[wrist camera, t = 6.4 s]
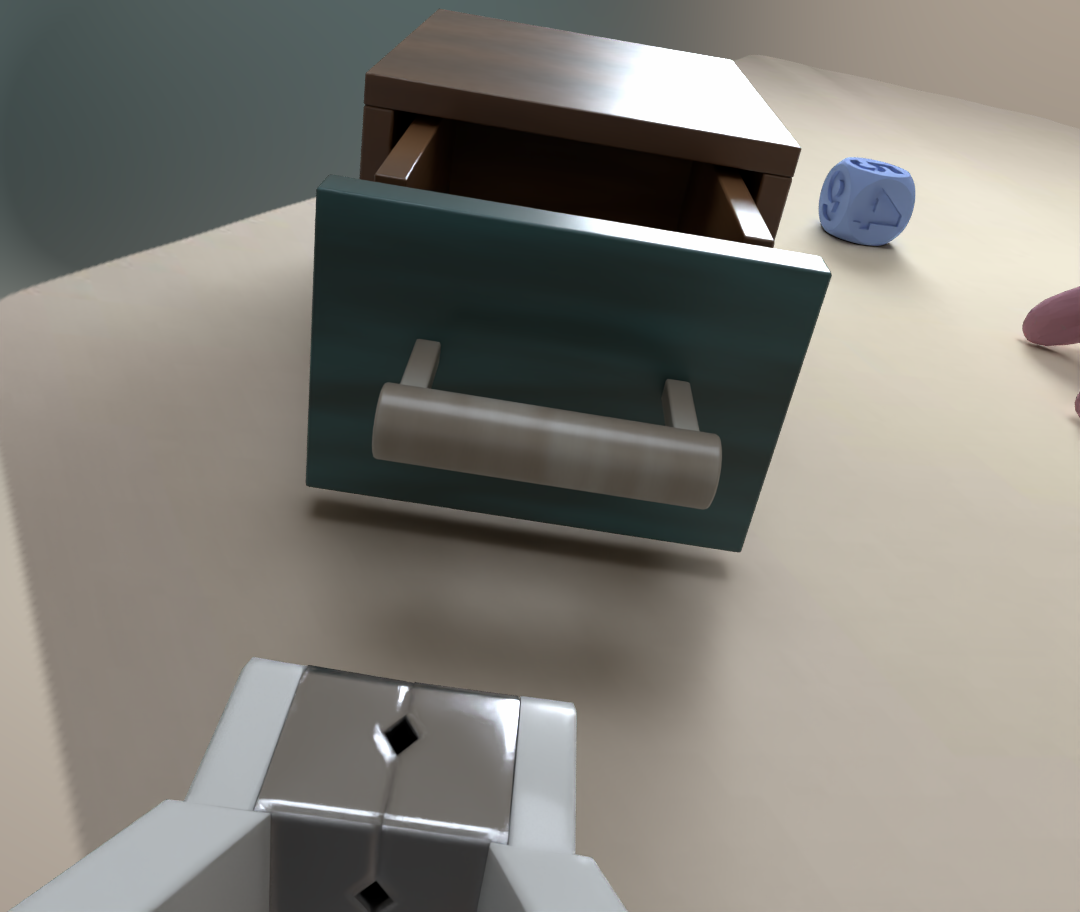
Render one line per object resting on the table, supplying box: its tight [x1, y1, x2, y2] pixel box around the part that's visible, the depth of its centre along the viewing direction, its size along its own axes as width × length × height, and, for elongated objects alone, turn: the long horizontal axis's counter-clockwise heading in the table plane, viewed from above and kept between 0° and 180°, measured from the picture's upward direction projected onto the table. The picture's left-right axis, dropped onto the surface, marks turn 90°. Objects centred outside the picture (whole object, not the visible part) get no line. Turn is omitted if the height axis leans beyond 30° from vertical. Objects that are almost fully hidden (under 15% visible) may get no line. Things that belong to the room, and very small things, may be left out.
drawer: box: [306, 114, 832, 552], centre depth 28 cm, size 19×12×8 cm, turn 178°
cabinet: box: [360, 9, 801, 241], centre depth 37 cm, size 16×13×10 cm
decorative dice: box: [819, 157, 915, 246], centre depth 57 cm, size 4×4×4 cm
